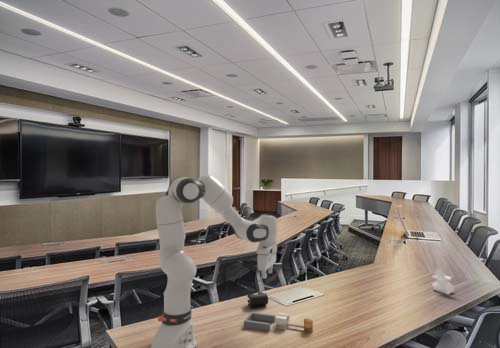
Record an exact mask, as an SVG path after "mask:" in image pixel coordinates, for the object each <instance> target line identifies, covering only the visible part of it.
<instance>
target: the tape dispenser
mask: <svg viewBox="0 0 500 348" xmlns="http://www.w3.org/2000/svg"><path fill="white" fill-rule="evenodd" d="M434 274H435V275H432V276H431V277H432V278H433V279H436V281H434V282H432V283H431V285H432V287H433V290H434V291H437V292H439V293H442V294H444V295H450V294H452V293H453V291H454V290H455V288H456V287H455V286H454V285H453V284H452V283H450V282H452V281H453V280H452V277H451V276H449V275H446V274H445V272H444V270H443V269H439V268H436V269H435V272H434Z"/></svg>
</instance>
